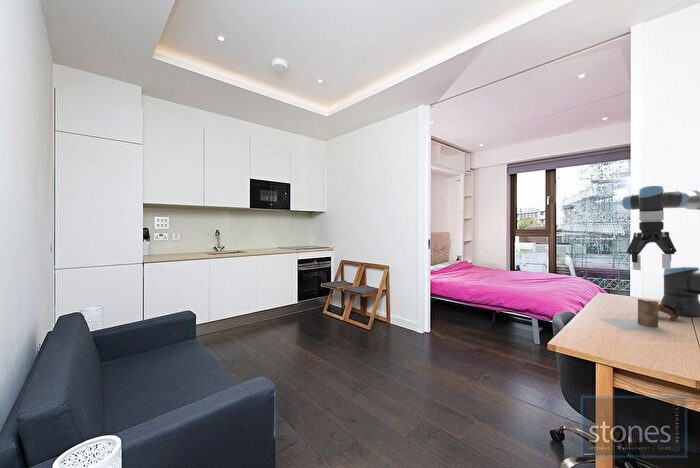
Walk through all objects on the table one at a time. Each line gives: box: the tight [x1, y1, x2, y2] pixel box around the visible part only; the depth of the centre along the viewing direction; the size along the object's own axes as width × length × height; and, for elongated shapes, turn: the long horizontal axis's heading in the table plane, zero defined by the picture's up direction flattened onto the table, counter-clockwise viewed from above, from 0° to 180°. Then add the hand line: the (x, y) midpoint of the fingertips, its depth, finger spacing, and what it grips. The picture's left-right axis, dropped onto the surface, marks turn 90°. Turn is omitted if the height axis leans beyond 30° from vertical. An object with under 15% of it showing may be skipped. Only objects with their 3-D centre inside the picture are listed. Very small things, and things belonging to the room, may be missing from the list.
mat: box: [597, 317, 673, 332], centre depth 131 cm, size 18×16×1 cm
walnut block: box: [637, 298, 659, 327], centre depth 129 cm, size 4×4×11 cm
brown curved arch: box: [658, 302, 680, 322], centre depth 139 cm, size 12×10×8 cm
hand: (651, 269), depth 131 cm, fingers open, 13 cm apart
